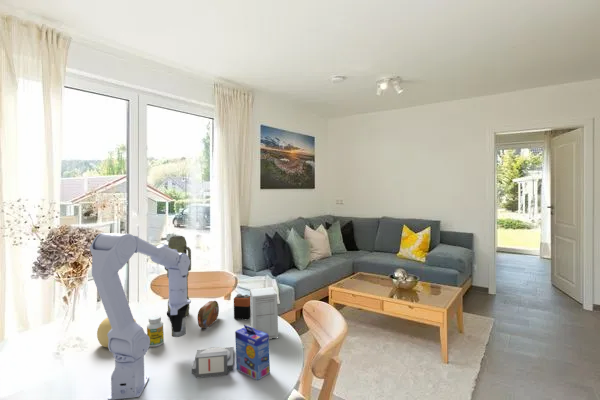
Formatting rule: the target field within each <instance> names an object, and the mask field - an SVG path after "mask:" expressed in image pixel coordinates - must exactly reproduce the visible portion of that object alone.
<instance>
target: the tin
mask: <svg viewBox="0 0 600 400" xmlns="http://www.w3.org/2000/svg"><path fill="white" fill-rule="evenodd" d="M219 306H220V305H219V303H218V301H217V300H209V301H208V302H206V303H205V304H204V305H203V306H201V307H200V309H199V310H198V312H197V326H198V327H199V328H201V329H208V328H210V327H211V326H212V324H214V323H215V322H216V321H217V319H218V317H219V312H220V308H219Z"/></svg>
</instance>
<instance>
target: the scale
mask: <svg viewBox="0 0 600 400" xmlns="http://www.w3.org/2000/svg"><path fill="white" fill-rule="evenodd" d="M234 351H235V348H234V346H232V347H230V346H229V347H220V346H219V347H210V348H206V349H197V350H196V354H195V357H194V360H193V363H192V367H191V375H195V378H196V379H197V378H198V379H200V378H208V377H219V376H227V375H228V371H232V370H233V368H234V367H233V366H234V356H235V355H234Z"/></svg>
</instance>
